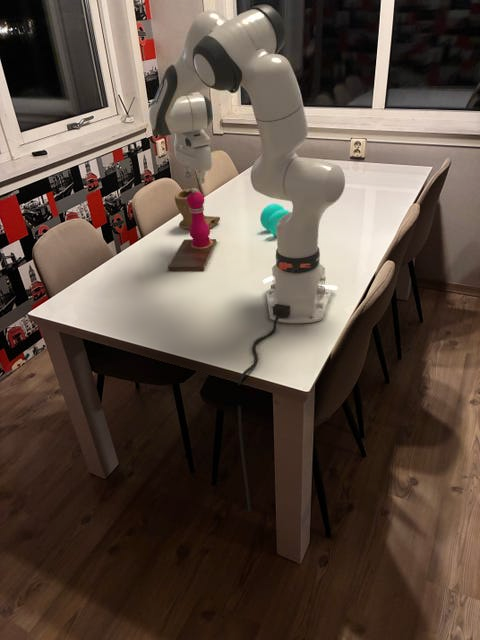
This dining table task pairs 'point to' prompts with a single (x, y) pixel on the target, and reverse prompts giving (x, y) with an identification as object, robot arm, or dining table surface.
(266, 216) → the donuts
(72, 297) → the dining table surface
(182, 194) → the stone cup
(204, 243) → the pepper mill
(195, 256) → the serving board
